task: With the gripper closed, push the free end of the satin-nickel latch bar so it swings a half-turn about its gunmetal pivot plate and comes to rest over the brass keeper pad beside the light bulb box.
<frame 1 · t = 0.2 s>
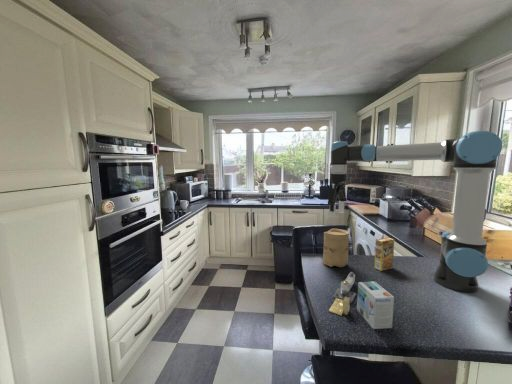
hand: (336, 215, 116), 28 cm above the countertop, fingers open, 13 cm apart
container: (335, 264, 123), on the countertop
latch bar: (348, 281, 97), point 4 cm above the countertop, hinge at 0.0°
keeper: (338, 307, 85), on the countertop
light bulb box: (373, 318, 79), on the countertop
candy box: (383, 268, 118), on the countertop
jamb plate: (344, 296, 93), on the countertop
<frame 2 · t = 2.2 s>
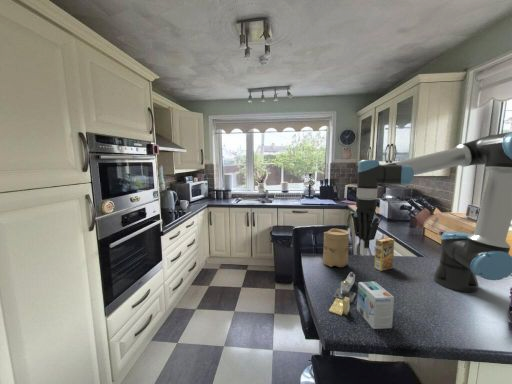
hand: (363, 254, 95), 16 cm above the countertop, fingers closed
nothing on the countertop moved.
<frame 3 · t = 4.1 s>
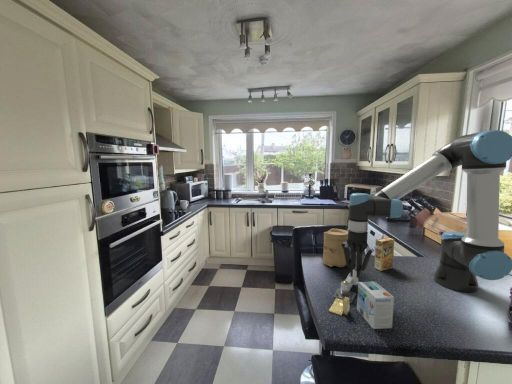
hand: (355, 283, 98), 2 cm above the countertop, fingers closed
latch bar: (348, 281, 97), point 4 cm above the countertop, hinge at 0.1°, touching gripper
everything else where it was.
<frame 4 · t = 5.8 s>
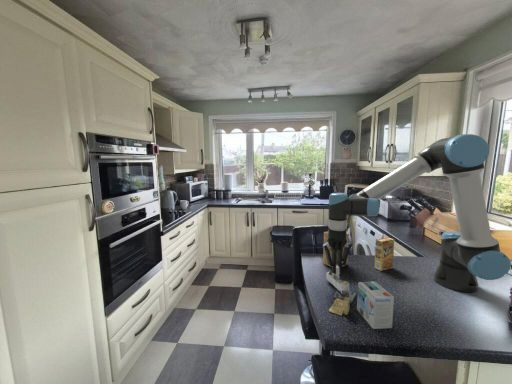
hand: (336, 280, 102), 2 cm above the countertop, fingers closed
latch bar: (337, 280, 98), point 4 cm above the countertop, hinge at 46.4°, touching gripper
everything else where it was.
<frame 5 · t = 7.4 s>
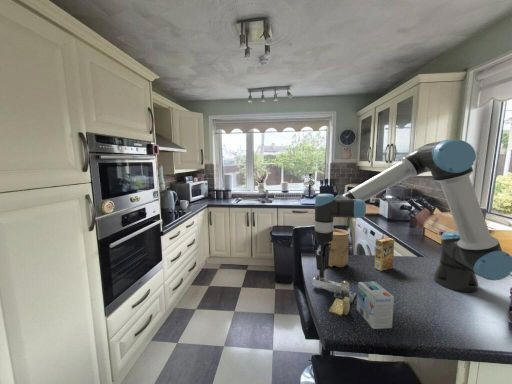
hand: (322, 283, 99), 2 cm above the countertop, fingers closed
latch bar: (330, 283, 95), point 4 cm above the countertop, hinge at 91.6°, touching gripper
everything else where it was.
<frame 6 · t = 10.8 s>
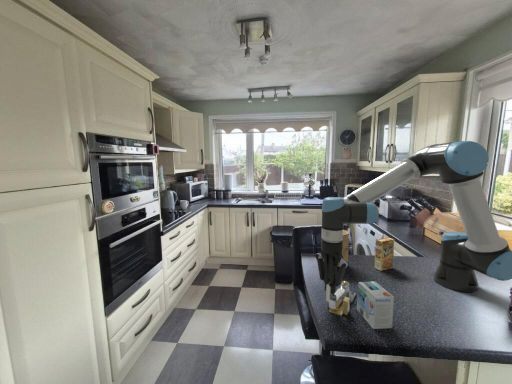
hand: (329, 300, 86), 2 cm above the countertop, fingers closed
latch bar: (339, 293, 88), point 4 cm above the countertop, hinge at 174.5°
everything else where it was.
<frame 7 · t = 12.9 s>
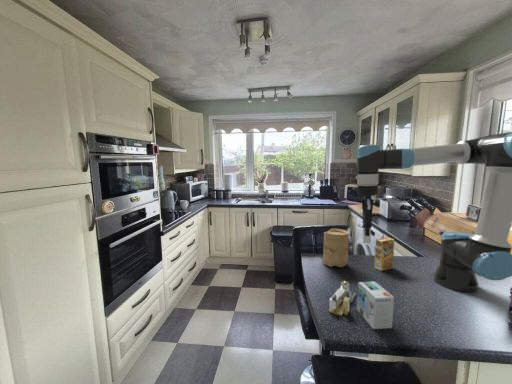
hand: (366, 242, 93), 21 cm above the countertop, fingers closed
nothing on the countertop moved.
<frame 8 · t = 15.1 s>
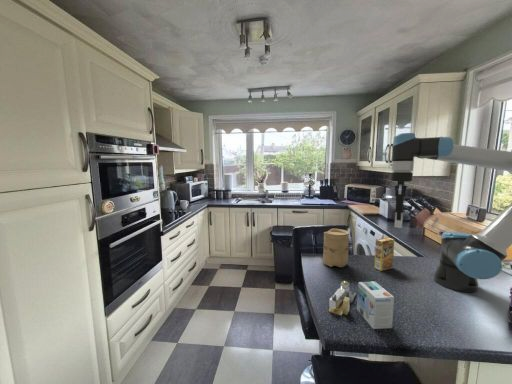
hand: (398, 227, 97), 26 cm above the countertop, fingers closed
nothing on the countertop moved.
at the end: latch bar at +174° (first picture: +0°); light bulb box moved 0.3 cm from its start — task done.
